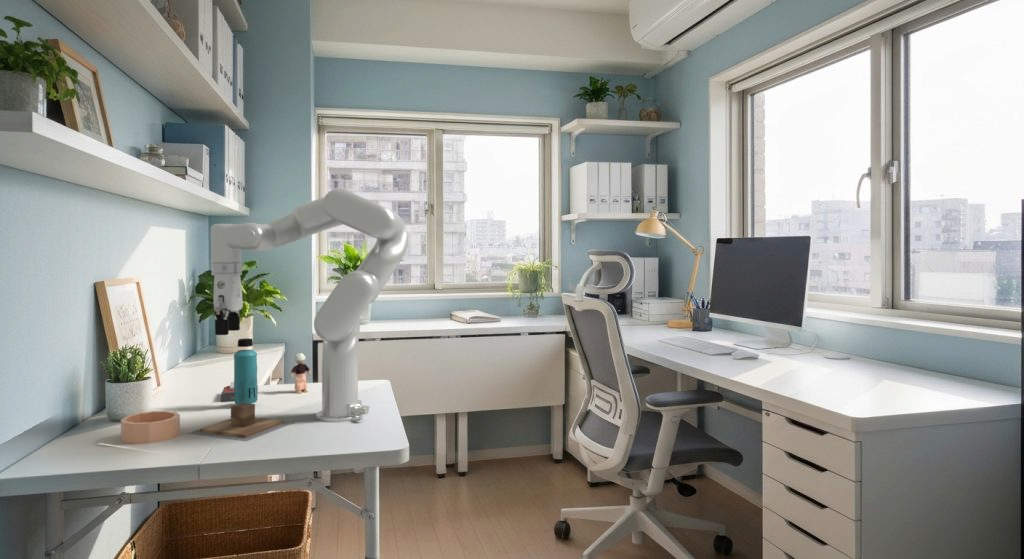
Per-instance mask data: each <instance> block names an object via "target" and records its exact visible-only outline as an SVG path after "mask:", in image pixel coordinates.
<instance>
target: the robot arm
mask: <svg viewBox="0 0 1024 559" xmlns="http://www.w3.org/2000/svg"><path fill="white" fill-rule="evenodd" d="M342 225H344V226H346V227H348V228H351V229H354V230H355V231H358V232H360V233H363V234H364V235H367V236H369V237H372V238H374V239H376V241H375V244H374V246H373V247H371V249H370V250H369V252H368V253H367V254H366V256H365V257H364V259H363V260H362V262H361V263H360V264H359V265H358V267H357V268H356V269H355V271H351V272H349V273H347V274H345V275H344V276H343V277H342V278H341V279H340V280H339V282H338V283H337V284H336V286H335V287H334V288H333V290H332V291H331V293H330V294H329V295H328V297H327V298H326V300H325V301H324V302H323V304H322V305H321V306H320V308H319V310H318V311H317V313H316V314H315V317H314V318H313V319H314V321H313V329H314V331H315V333H316V334H317V336H318V337H319V338H320V339H322V348H321V349H322V352H321V357H322V361H321V371H322V372H321V410H320V411H318V412H317V413H316V414H315V418H316V420H318V421H320V422H325V423H345V422H346V423H347V422H351V421H358V420H360V419H362V418H363V417H364V416H365V415H368V414H369V410H370V406H368V405H362V400H361V399H359V395H358V394H359V339H360V328H361V327H360V326H361V321H360V318H361V316H362V315H363V313H364V311H365V310H366V309H367V307H368V306H369V305H371V304H372V303H373V302H374V301H376V300H377V298H378V297H379V294H380V293H381V292H382V289H384V287H385V285H386V284H387V283H388V281H389V280H390V278H391V277H392V275H393V274H394V272H395V270H396V269H397V267H398V266H399V265H400V263H401V262H402V259H403V258H404V256H405V254H406V252H407V248H408V243H409V240H408V239H409V238H408V236H409V234H408V231H407V227H406V225H405V223H404V221H403V219H402V218H401V216H400V215H399V214H398V212H395V210H392V209H390V208H387V207H386V206H383V205H381V204H379V203H377V202H374V201H371V200H369V199H367V198H365V197H362V196H360V195H358V194H356V193H354V192H353V191H351V190H348V189H347V188H343V187H341V188H339V187H338V188H333V189H332V190H329V191H328V192H327V193H326V194H325V195H324V197H321V198H317V199H314V200H311V201H308V202H306V203H302V204H299V205H297V206H296V207H295V208H293V211H292V212H290V213H289V214H288V215H285V216H282V217H281V218H277V219H275V220H271V221H268V222H266V223H257V222H246V223H240V224H239V223H237V224H235V223H216V224H212V226H211V227H210V254H211V257H210V258H211V260H210V261H211V266H210V267H211V276H214V278H213V279H214V280H213V310H214V312H213V313H214V335H216V336H227V335H229V333H230V332H231V331H234V332H235V331H240V329H241V326H240V324H241V323H240V321H241V320H240V311H241V310H242V309H243V305H244V303H243V301H244V300H243V290H242V289H243V288H242V278H241V276H242V275H243V263H242V262H243V260H242V258H243V257H242V256H243V255H242V251H247V252H264V251H265V252H267V251H270V250H274V249H276V248H280V247H282V246H285V245H288V244H290V243H293V242H296V241H298V240H301V239H305V238H308V237H309V236H312V235H315V234H319V233H321V232H323V231H327V230H329V229H332V228H333V229H334V228H337V227H339V226H342ZM229 331H230V332H229Z"/></svg>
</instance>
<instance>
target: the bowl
mask: <svg viewBox="0 0 1024 559" xmlns="http://www.w3.org/2000/svg"><path fill="white" fill-rule="evenodd" d="M180 434H181V414H180V413H178V412H176V411H172V410H171V411H169V410H158V411H157V410H153V411H152V410H151V411H143V412H137V413H134V414H131V415H126V416H124V417H123V418H121V419H120V439H121V441H122V442H123V443H127V444H132V445H135V444H136V445H139V444H140V445H141V444H151V443H152V444H153V443H160V442H164V441H168V440H171V439H174V438H176V437H177V436H179V435H180Z"/></svg>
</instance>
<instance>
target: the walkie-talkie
mask: <svg viewBox="0 0 1024 559" xmlns="http://www.w3.org/2000/svg"><path fill="white" fill-rule="evenodd" d="M222 389H223V390H222V391H221V394H220V402H221V403H226V402H231V403H233V402H234V381H232V382H230V385H227V386H224V387H223V388H222Z"/></svg>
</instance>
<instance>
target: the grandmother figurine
mask: <svg viewBox="0 0 1024 559" xmlns="http://www.w3.org/2000/svg"><path fill="white" fill-rule="evenodd" d="M294 360H295V363H296V365H295V366H292V369H291V370H290V373H289V374H290V375H289V378H291V379H292V378H293V377H295V382H294V391H293V393H294V394H302V393H308V390H307V389H308V385H307V378H306V377H307V376H306V373H307V374H308V376H311V375H312V372H311V370H310V368H309V366H308V365H307V364H306V363H305V361H306V356H305V354H304V353H303V352H301V353H300V352H299V353H297V354H296V355H295V356H294ZM294 375H295V376H294Z"/></svg>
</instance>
